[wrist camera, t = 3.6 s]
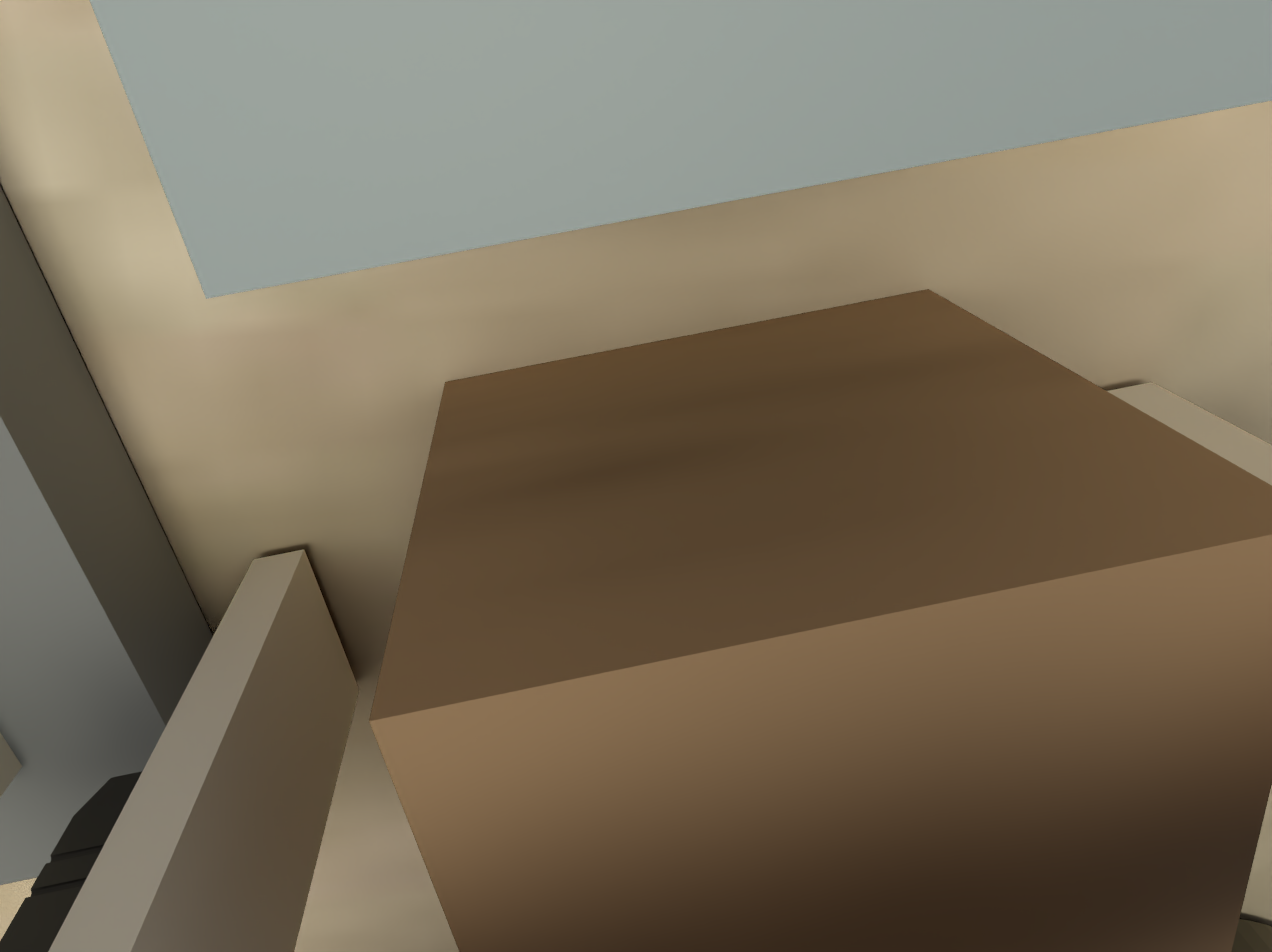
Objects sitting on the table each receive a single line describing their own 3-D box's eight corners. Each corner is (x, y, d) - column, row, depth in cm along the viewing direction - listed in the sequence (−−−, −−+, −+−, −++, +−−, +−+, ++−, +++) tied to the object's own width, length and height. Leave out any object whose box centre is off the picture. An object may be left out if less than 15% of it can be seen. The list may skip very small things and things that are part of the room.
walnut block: (927, 666, 16) (1202, 1075, 9) (546, 746, 15) (565, 1221, 9) (925, 288, 12) (1335, 521, 6) (446, 380, 12) (368, 721, 6)
